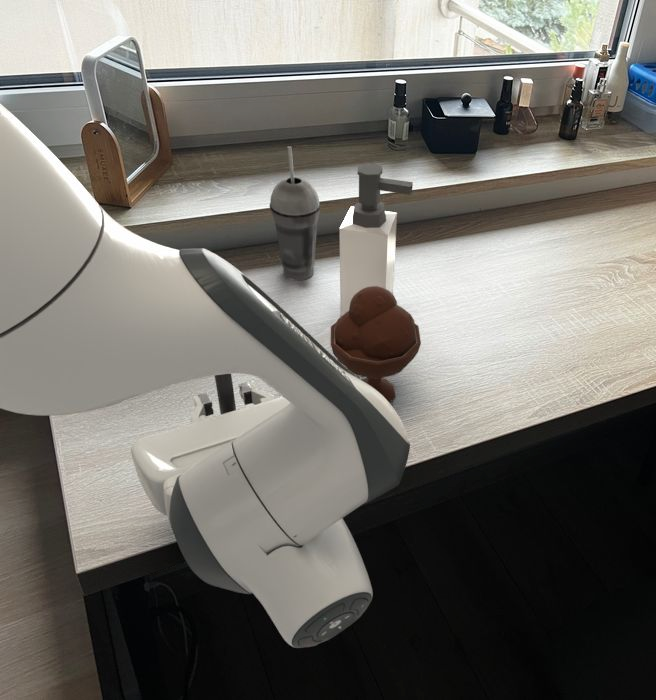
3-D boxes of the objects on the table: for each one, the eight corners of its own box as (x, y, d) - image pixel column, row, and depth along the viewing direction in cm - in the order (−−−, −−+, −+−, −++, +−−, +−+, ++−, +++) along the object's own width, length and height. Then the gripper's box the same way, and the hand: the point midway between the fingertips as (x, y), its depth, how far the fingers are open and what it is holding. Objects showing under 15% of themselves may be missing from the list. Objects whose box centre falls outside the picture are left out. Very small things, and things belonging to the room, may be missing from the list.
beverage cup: (283, 289, 108) (274, 164, 96) (268, 264, 113) (258, 142, 101) (329, 280, 112) (326, 157, 99) (313, 256, 116) (308, 137, 104)
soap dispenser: (400, 325, 104) (408, 185, 91) (340, 316, 105) (338, 175, 91) (408, 300, 109) (416, 164, 96) (351, 292, 110) (351, 155, 96)
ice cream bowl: (313, 402, 90) (309, 303, 81) (364, 355, 98) (365, 261, 89) (385, 435, 87) (389, 337, 78) (431, 384, 95) (440, 290, 86)
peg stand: (210, 489, 78) (187, 361, 67) (205, 450, 82) (182, 323, 71) (267, 477, 80) (253, 351, 69) (259, 440, 84) (245, 315, 73)
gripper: (371, 426, 69) (316, 344, 78) (146, 500, 60) (113, 397, 69) (370, 470, 73) (318, 388, 82) (159, 546, 64) (126, 443, 73)
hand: (223, 392), depth 75 cm, fingers open, 3 cm apart
